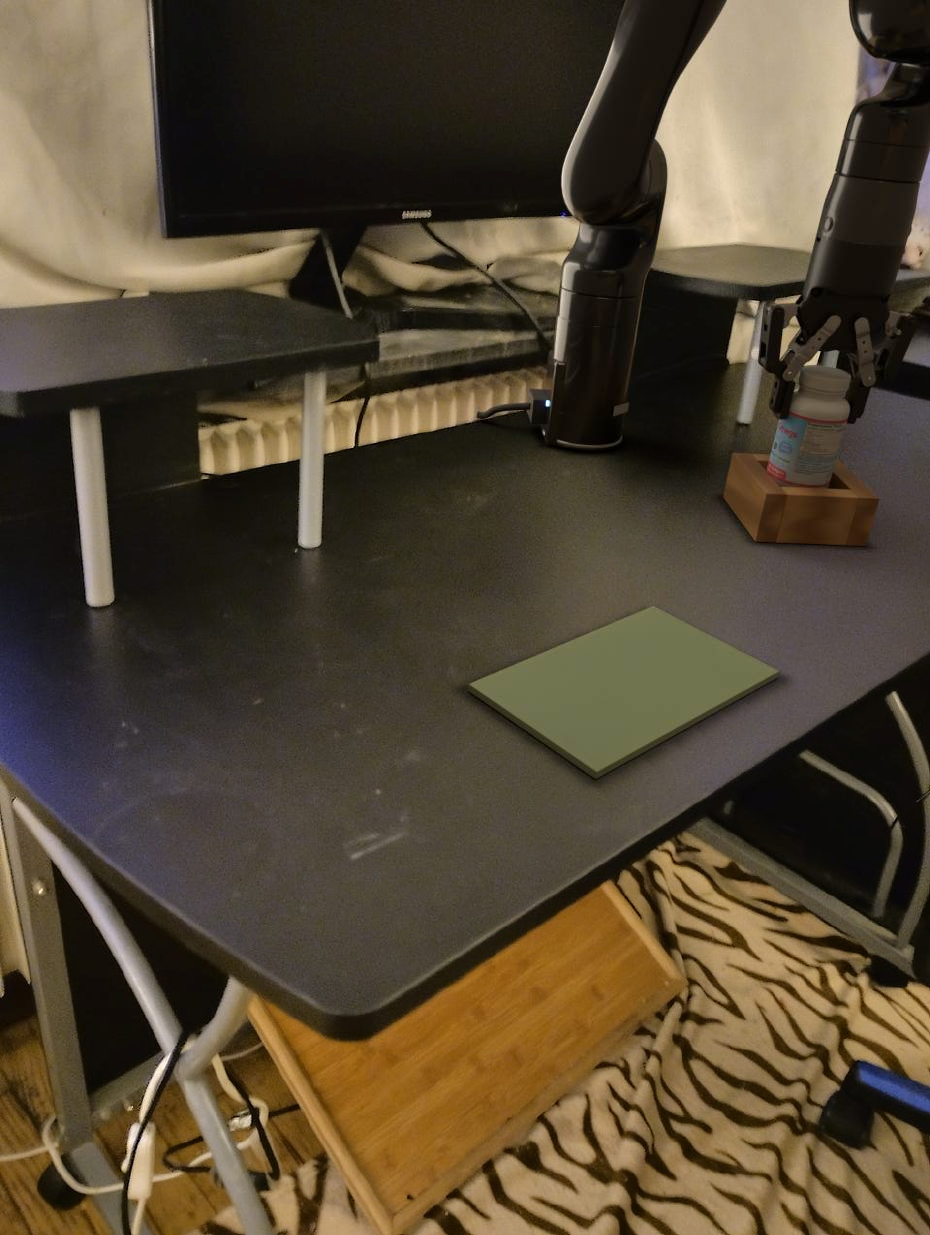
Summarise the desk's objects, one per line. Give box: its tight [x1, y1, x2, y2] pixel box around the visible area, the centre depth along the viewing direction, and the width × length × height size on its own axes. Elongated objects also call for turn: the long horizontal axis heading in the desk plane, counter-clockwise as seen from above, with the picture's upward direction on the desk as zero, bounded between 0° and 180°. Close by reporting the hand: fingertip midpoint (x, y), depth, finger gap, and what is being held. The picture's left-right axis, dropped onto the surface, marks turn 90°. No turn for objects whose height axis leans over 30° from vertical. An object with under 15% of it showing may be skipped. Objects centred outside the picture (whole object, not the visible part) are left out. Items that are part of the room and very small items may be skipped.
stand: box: [722, 452, 881, 547], centre depth 98 cm, size 11×11×5 cm
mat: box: [467, 605, 780, 780], centre depth 70 cm, size 20×12×1 cm, turn 131°
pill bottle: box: [767, 364, 852, 489], centre depth 94 cm, size 6×6×11 cm
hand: (812, 418), depth 94 cm, fingers closed on pill bottle, 6 cm apart
